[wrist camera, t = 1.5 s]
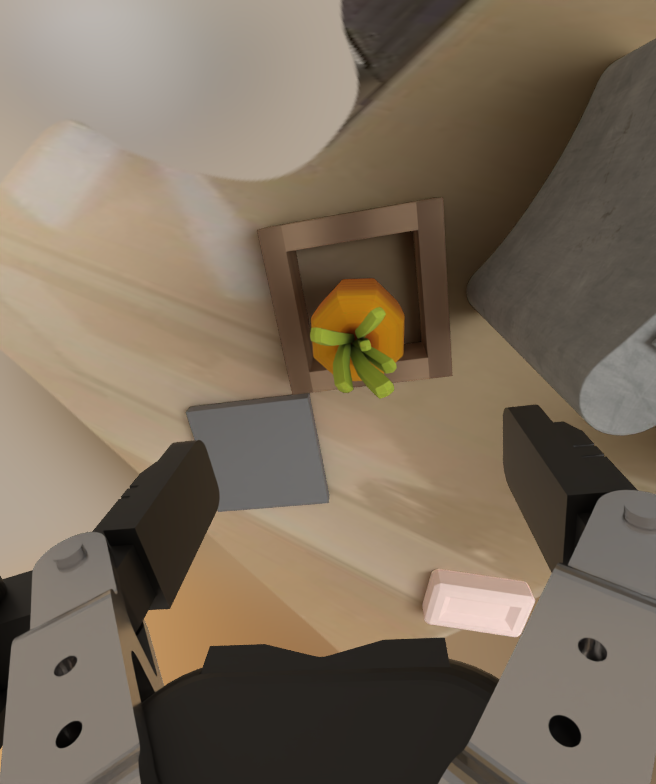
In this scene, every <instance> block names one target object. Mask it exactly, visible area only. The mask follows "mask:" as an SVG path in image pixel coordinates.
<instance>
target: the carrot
mask: <svg viewBox="0 0 656 784" xmlns="http://www.w3.org/2000/svg"><path fill="white" fill-rule="evenodd" d="M404 319H405V315H404V313H403V311H402V309H401V307H400V305H399V303H398V302H397V300H396V299H395V298H394V297H393V296H392V295H391V294H390V293H389V292H388V291H387V290H385V289H384V288H383V287H382V286H381V285H380V284H379V283H378V282H377V281H376V280H375V279H374V278H367V279H343V280H342V281H341V282H340V283H339V284H338V285H337V286H336V287H335V288H334V289H333V290H332V291H331V293H330V294H329V295H328V296H327V297H326V298H325V299H324V300H323V301H322V302H321V304H320V305H319V306H318V308H317V309H316V310H315V312H314V314H313V315H312V317H311V332H310V338H311V341H312V346H313V357H314V358H315V359H316V360H317V361H318V362H319V363H320V364H322V365H323V366H324V367H325V368H326V369H327V370H328V371H329V372H331V373H332V374H333V377H334V383H335V386H336V387H337V389H338V390H339V391H341V392H343V393H349V392H351V391H352V390H353V383H352V381H363V382H364V384H365V385H366V386H367V387H368V388H369V389H370V390H371V391H372V392H373V393H374V394H375V395H376V396H377V397H378V398H379V399H381V398H384V397H386V396H388V395H390V394H391V393H392V392H393V391H394V385H393V384H392V382H391V381H390V380H389V379H388V378H387V377H386V376H385V375H384V373H386V374H387V373H393V372H394V371H395V370H396V369H397V366H396V362H397V361H398V360H399V359H400V358H401V357H402V356H403V354H404Z"/></svg>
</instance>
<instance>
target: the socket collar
mask: <svg viewBox="0 0 656 784" xmlns="http://www.w3.org/2000/svg"><path fill="white" fill-rule="evenodd" d="M408 231H413V238H414V250H415V263H416V275H417V288H418V300H419V312H420V325H421V337H422V342H416V343H408V344H404V354H403V356H402V357H401V358H400V359H399V360H398V361H397V362H396V366H397V369H396V370H395V371H394V372H393V373H387V374H386V373H384V375H385V376H386V377H387V378H388V379H389V380H390V381H391V382H392V383H396V382H404V381H413V380H421V379H430V378H439V377H447V376H452V358H451V340H450V321H449V302H448V283H447V264H446V246H445V227H444V208H443V198H430V199H424V200H419V201H413V202H407V203H402V204H396V205H390V206H384V207H379V208H373V209H367V210H362V211H356V212H350V213H344V214H339V215H333V216H327V217H322V218H316V219H310V220H304V221H299V222H293V223H287V224H282V225H276V226H270V227H266V228H263V229H259V230H257V232H258V237H259V242H260V246H261V251H262V256H263V260H264V265H265V270H266V274H267V279H268V283H269V288H270V293H271V297H272V302H273V307H274V311H275V316H276V321H277V325H278V330H279V335H280V339H281V344H282V349H283V353H284V358H285V363H286V367H287V372H288V377H289V381H290V386H291V391H292V395H294V394H302V393H311V392H319V391H328V390H336V389H337V387H336V386H335V383H334V377H333V374H332V373H331V372H329V371H328V370H327V369H326V368H325V367H324V366H323V365H322V364H320V363H319V362H318V361H317V360H316V359H315V358H314V357H313V346H312V341H311V338H310V332H311V331H310V326H309V320H308V315H307V309H306V304H305V299H304V293H303V288H302V282H301V277H300V272H299V266H298V261H297V255H296V250H299V249H305V248H311V247H317V246H323V245H329V244H335V243H341V242H348V241H354V240H360V239H366V238H372V237H378V236H384V235H390V234H396V233H402V232H408ZM352 383H353V387H362V386H366V385H365V384H364V382H363V381H352Z"/></svg>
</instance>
